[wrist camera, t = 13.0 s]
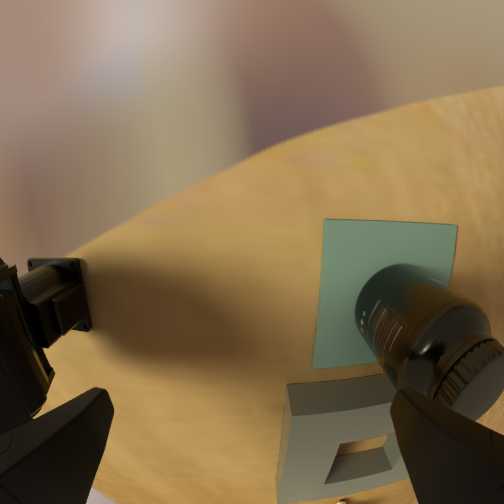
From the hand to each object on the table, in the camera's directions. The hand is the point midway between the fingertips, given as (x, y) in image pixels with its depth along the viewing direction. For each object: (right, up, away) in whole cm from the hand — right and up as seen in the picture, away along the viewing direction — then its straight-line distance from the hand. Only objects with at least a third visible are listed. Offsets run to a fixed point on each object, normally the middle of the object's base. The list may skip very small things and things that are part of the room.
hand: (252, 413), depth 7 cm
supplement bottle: (+11, +1, +13) cm, 17 cm away
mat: (+11, +1, +13) cm, 17 cm away
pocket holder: (+12, -15, +17) cm, 26 cm away
